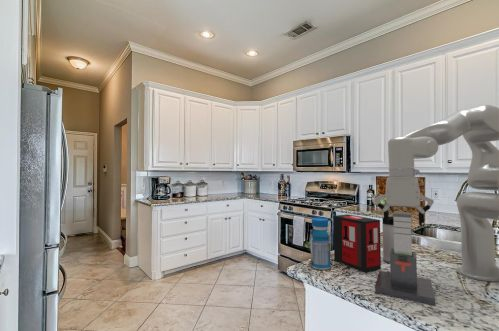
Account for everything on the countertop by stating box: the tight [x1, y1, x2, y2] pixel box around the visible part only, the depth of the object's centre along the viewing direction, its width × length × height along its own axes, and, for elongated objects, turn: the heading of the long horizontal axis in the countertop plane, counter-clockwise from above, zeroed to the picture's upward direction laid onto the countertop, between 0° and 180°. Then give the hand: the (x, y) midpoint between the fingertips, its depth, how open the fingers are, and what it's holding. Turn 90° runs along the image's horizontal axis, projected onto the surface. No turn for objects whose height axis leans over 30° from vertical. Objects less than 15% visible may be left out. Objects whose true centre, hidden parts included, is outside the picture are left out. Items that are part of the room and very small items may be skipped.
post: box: [392, 211, 413, 257], centre depth 87 cm, size 5×5×17 cm
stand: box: [374, 249, 436, 306], centre depth 86 cm, size 16×16×12 cm
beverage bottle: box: [309, 217, 332, 271], centre depth 108 cm, size 8×8×20 cm
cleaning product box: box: [333, 213, 382, 274], centre depth 110 cm, size 16×9×20 cm, turn 27°
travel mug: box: [381, 215, 394, 265], centre depth 113 cm, size 6×7×20 cm
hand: (403, 223), depth 87 cm, fingers open, 9 cm apart
